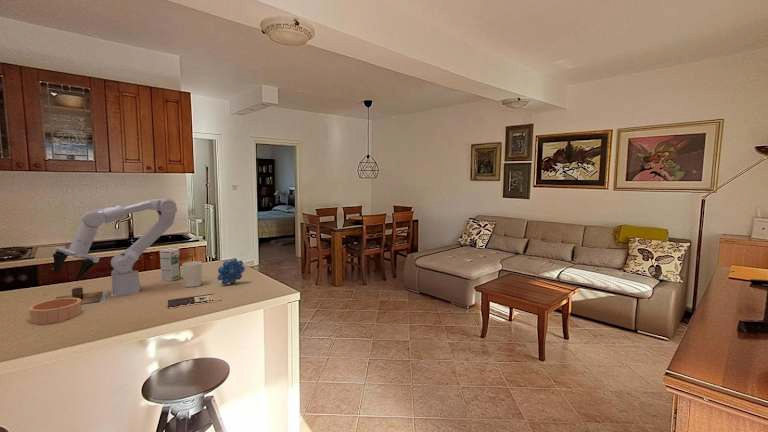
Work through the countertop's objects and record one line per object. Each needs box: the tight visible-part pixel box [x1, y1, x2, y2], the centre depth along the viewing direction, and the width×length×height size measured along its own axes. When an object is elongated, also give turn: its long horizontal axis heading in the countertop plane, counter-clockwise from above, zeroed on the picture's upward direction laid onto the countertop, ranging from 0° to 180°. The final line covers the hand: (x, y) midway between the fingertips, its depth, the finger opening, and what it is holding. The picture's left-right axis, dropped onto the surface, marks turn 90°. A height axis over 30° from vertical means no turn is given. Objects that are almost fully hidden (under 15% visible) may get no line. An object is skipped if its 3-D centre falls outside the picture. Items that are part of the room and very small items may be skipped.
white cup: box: [181, 260, 203, 288], centre depth 159 cm, size 8×8×10 cm
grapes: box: [216, 257, 246, 285], centre depth 162 cm, size 12×7×12 cm, turn 122°
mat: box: [50, 290, 108, 307], centre depth 136 cm, size 17×17×1 cm
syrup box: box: [159, 247, 182, 282], centre depth 167 cm, size 6×6×14 cm
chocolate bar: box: [167, 293, 214, 309], centre depth 139 cm, size 9×1×18 cm
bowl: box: [27, 298, 83, 325], centre depth 120 cm, size 13×13×4 cm
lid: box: [55, 287, 104, 305], centre depth 136 cm, size 14×14×5 cm
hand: (67, 275), depth 134 cm, fingers open, 7 cm apart
